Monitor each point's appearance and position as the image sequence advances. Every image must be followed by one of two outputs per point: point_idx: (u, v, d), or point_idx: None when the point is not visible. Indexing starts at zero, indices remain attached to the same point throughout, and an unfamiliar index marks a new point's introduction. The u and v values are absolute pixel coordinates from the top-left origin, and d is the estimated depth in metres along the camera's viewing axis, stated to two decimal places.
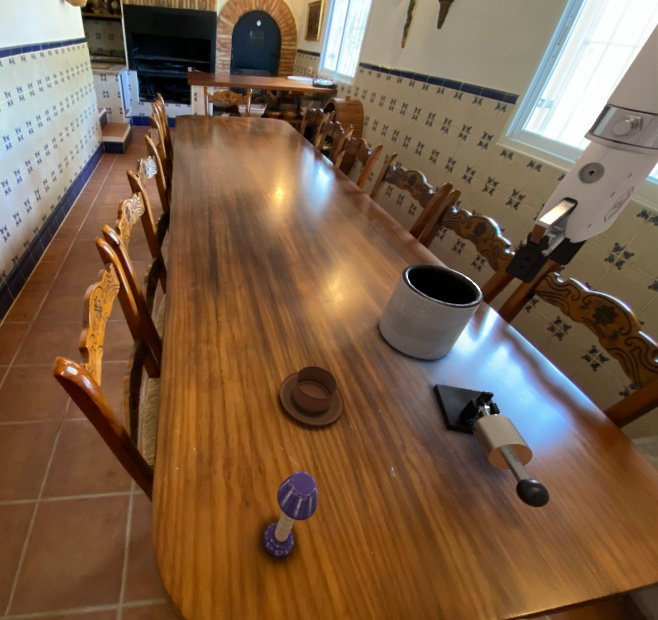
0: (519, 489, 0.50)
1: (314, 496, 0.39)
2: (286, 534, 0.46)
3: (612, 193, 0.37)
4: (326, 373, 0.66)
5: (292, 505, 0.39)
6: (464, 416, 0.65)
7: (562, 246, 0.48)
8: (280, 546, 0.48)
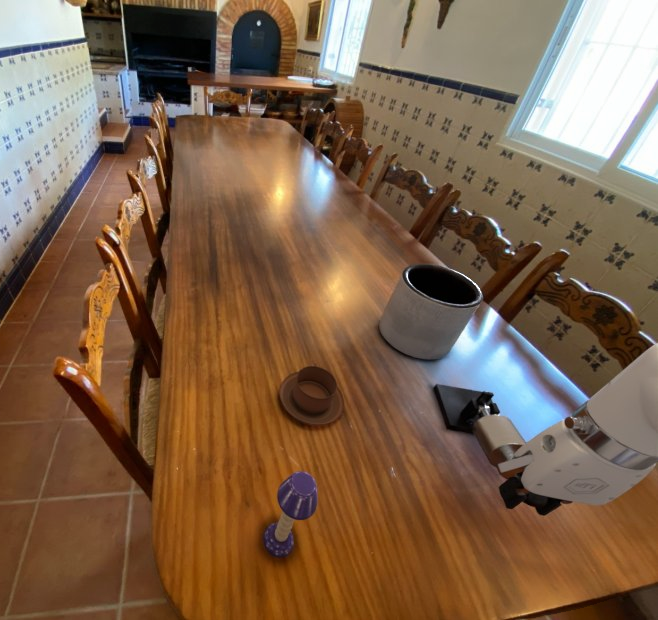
0: None
1: (314, 496, 0.39)
2: (286, 534, 0.46)
3: (559, 470, 0.42)
4: (326, 373, 0.66)
5: (292, 504, 0.39)
6: (464, 416, 0.65)
7: None
8: (280, 546, 0.48)
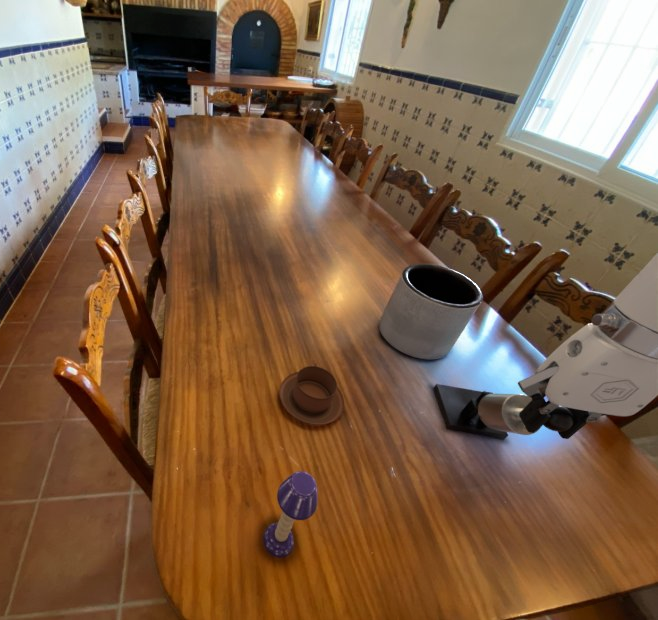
0: None
1: (314, 496, 0.39)
2: (286, 534, 0.46)
3: (587, 373, 0.41)
4: (326, 373, 0.66)
5: (292, 504, 0.39)
6: (464, 416, 0.65)
7: None
8: (280, 546, 0.48)
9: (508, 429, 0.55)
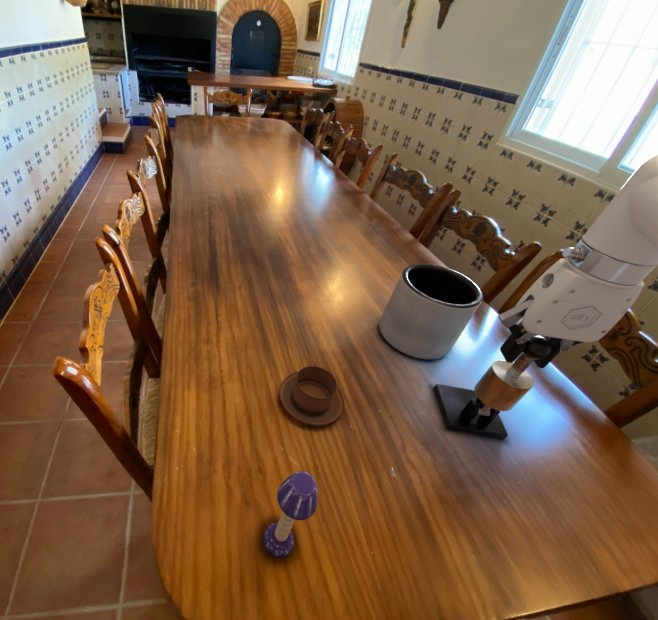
0: None
1: (314, 496, 0.39)
2: (286, 534, 0.46)
3: (557, 301, 0.46)
4: (326, 373, 0.66)
5: (292, 504, 0.39)
6: (464, 416, 0.65)
7: None
8: (280, 546, 0.48)
9: (507, 387, 0.56)
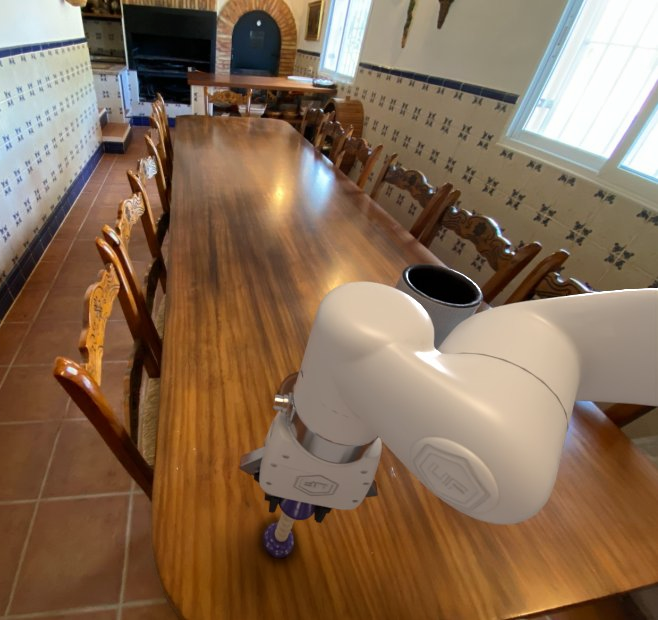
0: None
1: None
2: (286, 534, 0.46)
3: (276, 464, 0.32)
4: None
5: (292, 504, 0.39)
6: None
7: None
8: (280, 546, 0.48)
9: None
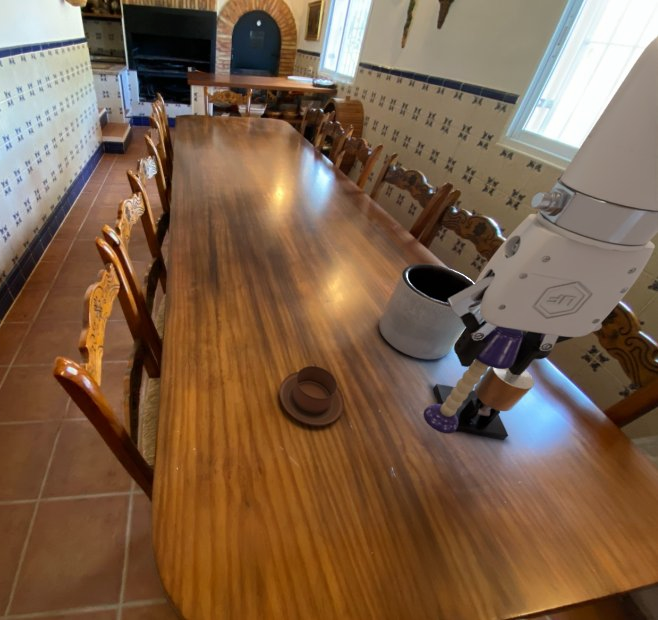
0: None
1: None
2: (460, 404, 0.45)
3: (525, 275, 0.31)
4: (326, 373, 0.66)
5: (498, 349, 0.38)
6: (464, 416, 0.65)
7: None
8: (448, 421, 0.46)
9: (507, 387, 0.56)
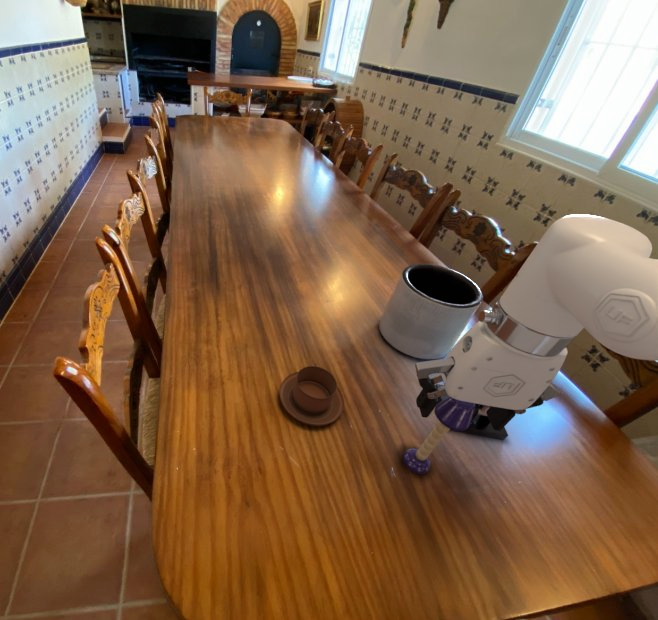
0: None
1: None
2: (430, 452, 0.56)
3: (475, 368, 0.42)
4: (326, 373, 0.66)
5: (456, 417, 0.49)
6: None
7: (497, 411, 0.49)
8: (422, 464, 0.58)
9: None
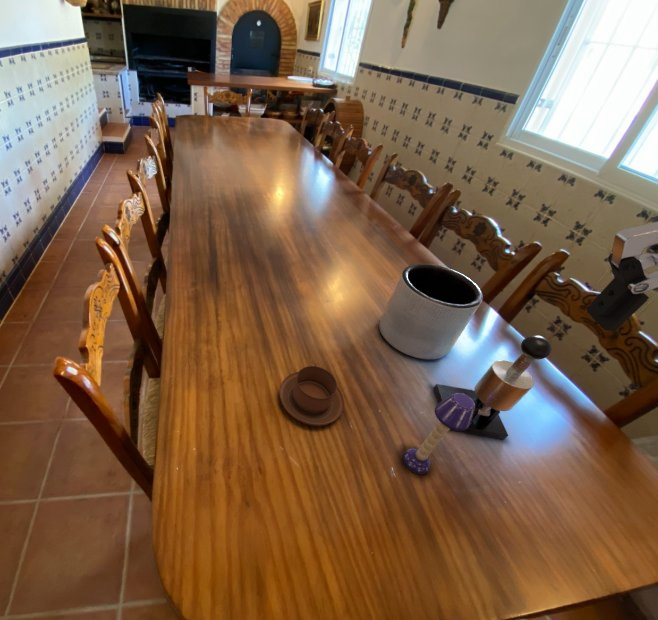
0: (522, 345, 0.54)
1: None
2: (430, 452, 0.56)
3: None
4: (326, 373, 0.66)
5: (456, 417, 0.49)
6: None
7: None
8: (422, 464, 0.58)
9: (507, 387, 0.56)
